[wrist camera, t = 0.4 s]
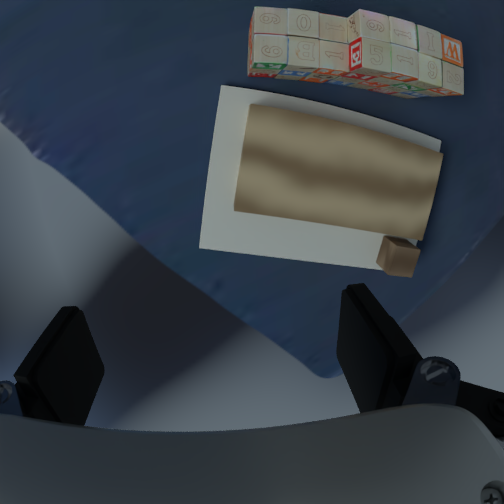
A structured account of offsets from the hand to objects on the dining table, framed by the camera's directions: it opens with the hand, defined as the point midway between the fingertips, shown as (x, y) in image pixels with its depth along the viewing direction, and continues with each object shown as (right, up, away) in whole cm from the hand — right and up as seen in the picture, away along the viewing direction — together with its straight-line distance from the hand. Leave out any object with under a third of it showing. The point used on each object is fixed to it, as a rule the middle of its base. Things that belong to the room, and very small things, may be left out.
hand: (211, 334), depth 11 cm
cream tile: (+11, +11, +28) cm, 32 cm away
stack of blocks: (+12, +26, +23) cm, 36 cm away
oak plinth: (+12, +12, +27) cm, 32 cm away
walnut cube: (+21, +3, +31) cm, 38 cm away
